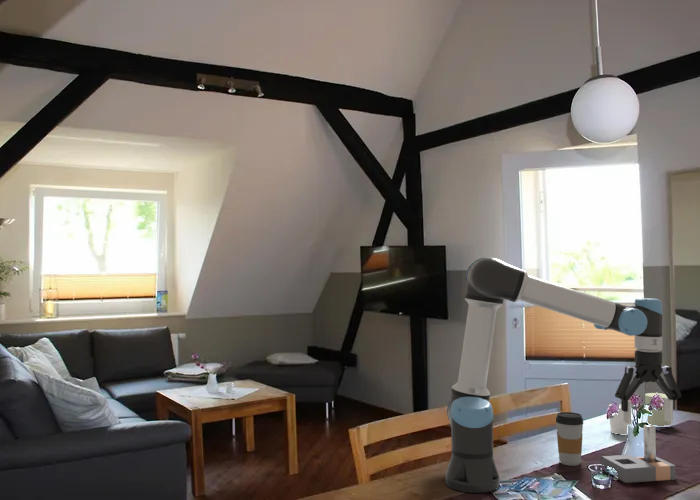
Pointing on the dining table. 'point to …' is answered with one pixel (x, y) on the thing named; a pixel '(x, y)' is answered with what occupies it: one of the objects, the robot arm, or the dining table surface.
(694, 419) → the dining table surface
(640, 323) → the robot arm
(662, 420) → the can
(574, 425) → the coffee cup
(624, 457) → the mount block
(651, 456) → the pin
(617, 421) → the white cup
